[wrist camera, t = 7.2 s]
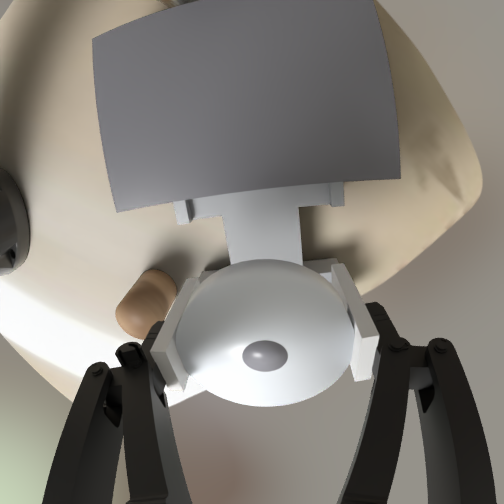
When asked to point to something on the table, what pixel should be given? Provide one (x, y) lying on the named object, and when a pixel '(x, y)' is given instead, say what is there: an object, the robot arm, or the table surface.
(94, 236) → the table surface
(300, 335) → the lid
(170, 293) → the brown rounded peg
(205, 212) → the grey drawer
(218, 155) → the housing
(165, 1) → the coffee box
